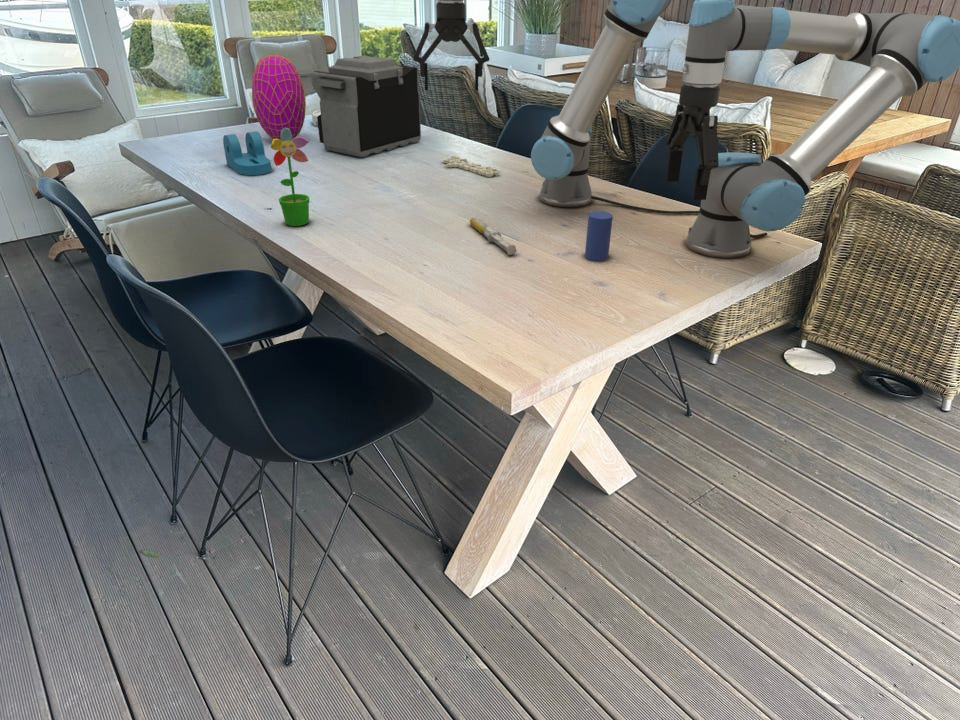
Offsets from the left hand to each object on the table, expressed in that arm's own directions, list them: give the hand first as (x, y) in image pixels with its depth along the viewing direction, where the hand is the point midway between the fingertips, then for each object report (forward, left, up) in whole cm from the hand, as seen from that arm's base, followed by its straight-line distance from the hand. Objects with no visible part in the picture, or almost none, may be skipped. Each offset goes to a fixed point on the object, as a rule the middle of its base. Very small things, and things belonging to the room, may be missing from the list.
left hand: (451, 89), depth 187 cm
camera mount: (+75, 0, -31) cm, 81 cm away
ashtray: (+91, -74, -31) cm, 121 cm away
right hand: (-69, +26, -11) cm, 75 cm away
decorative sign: (+11, -34, -31) cm, 47 cm away
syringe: (-24, +24, -31) cm, 46 cm away
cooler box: (+57, -45, -31) cm, 79 cm away
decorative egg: (+92, -37, -31) cm, 104 cm away
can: (-51, +24, -31) cm, 64 cm away
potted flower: (+28, +36, -31) cm, 55 cm away
